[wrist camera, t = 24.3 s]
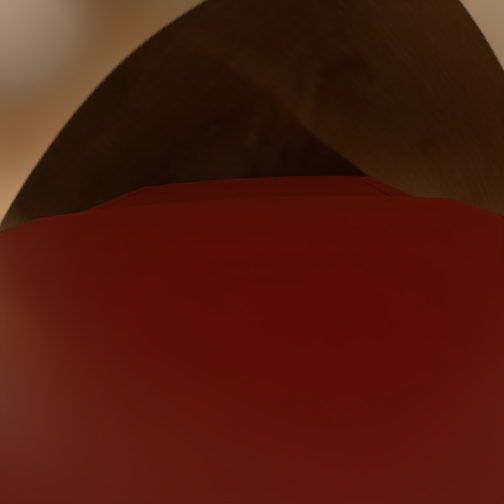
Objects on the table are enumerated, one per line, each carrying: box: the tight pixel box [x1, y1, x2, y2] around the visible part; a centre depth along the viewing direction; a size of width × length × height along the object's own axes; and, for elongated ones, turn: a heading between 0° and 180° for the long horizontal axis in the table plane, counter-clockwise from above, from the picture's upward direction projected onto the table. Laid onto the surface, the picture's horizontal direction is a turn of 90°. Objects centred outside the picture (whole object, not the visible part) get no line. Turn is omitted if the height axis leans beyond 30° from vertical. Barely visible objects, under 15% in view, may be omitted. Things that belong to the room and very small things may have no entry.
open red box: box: [83, 176, 412, 212], centre depth 12 cm, size 12×11×7 cm
